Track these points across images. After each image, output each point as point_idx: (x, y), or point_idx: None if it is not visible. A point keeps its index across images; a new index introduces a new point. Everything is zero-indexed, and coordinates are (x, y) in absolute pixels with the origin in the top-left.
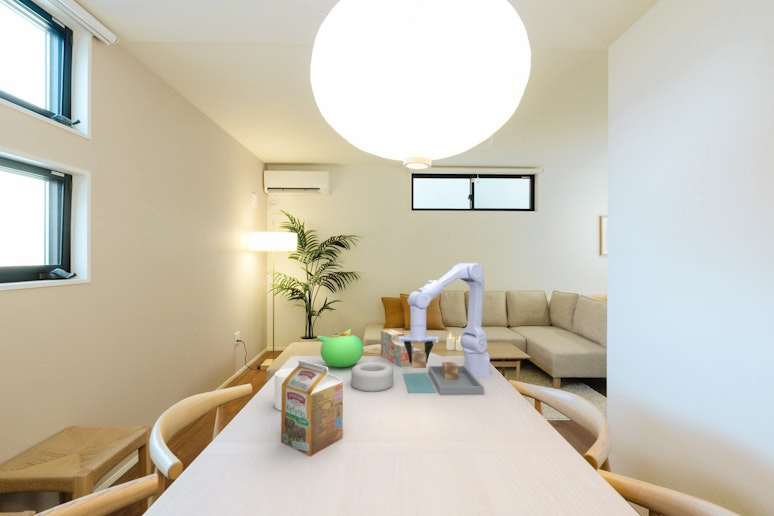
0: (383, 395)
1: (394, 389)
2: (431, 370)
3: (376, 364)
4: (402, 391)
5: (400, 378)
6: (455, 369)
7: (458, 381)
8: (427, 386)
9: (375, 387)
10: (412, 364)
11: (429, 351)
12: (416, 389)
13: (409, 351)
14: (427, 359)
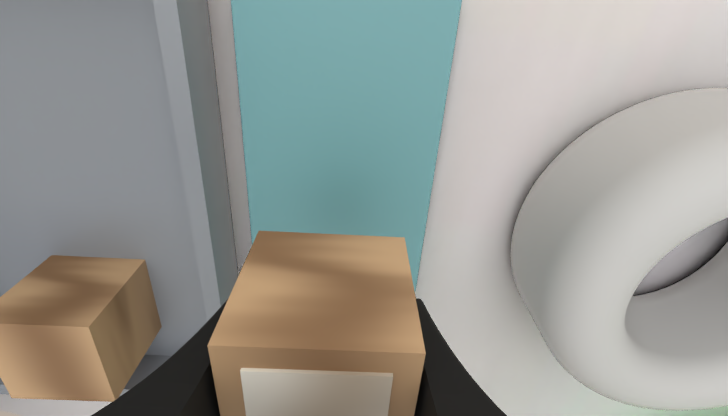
0: (657, 7)
1: (528, 128)
2: None
3: (658, 371)
4: (483, 82)
5: (431, 307)
6: (18, 302)
7: (45, 216)
8: (281, 123)
9: (716, 91)
10: (404, 257)
11: (142, 388)
12: (380, 63)
13: (463, 401)
14: (217, 312)
